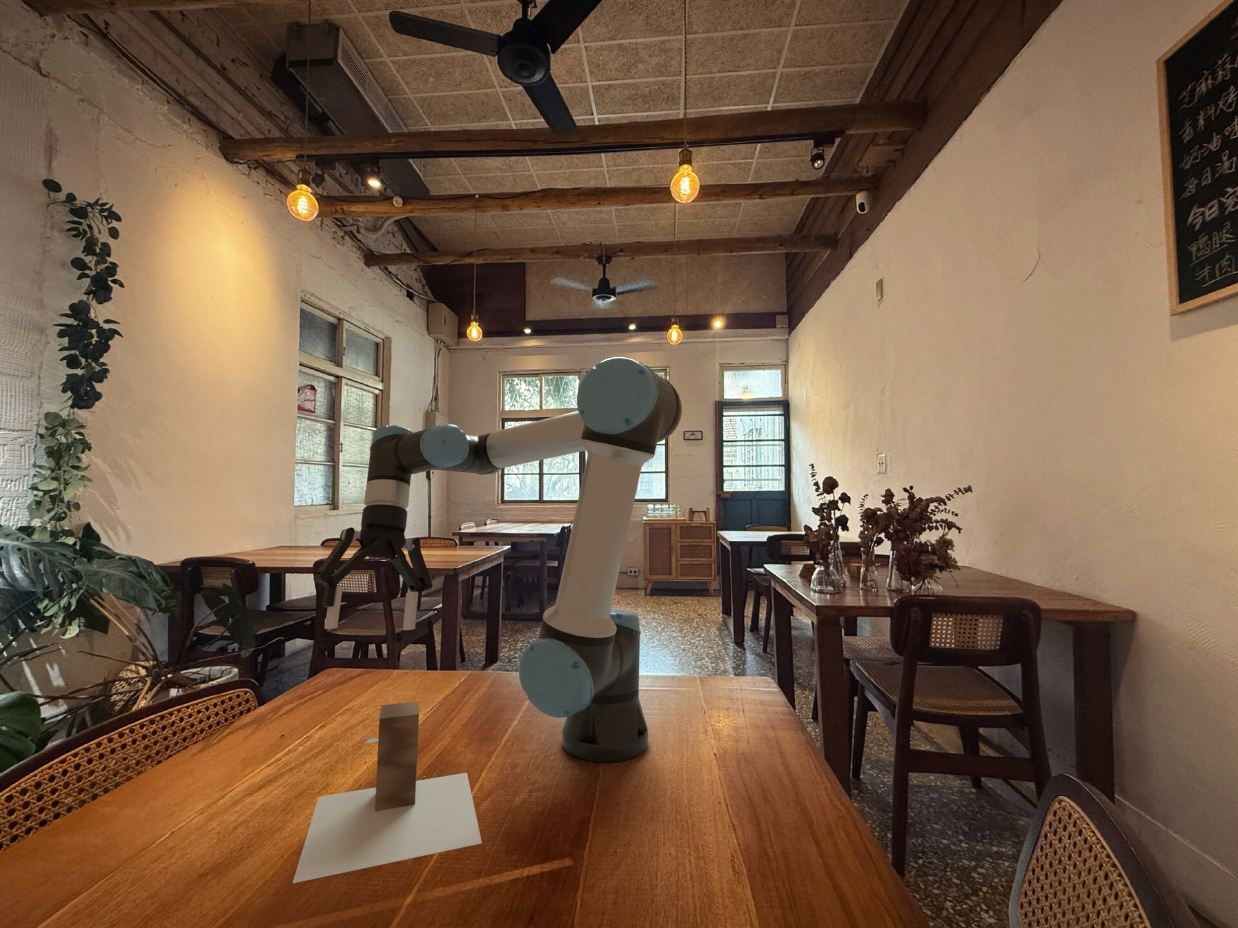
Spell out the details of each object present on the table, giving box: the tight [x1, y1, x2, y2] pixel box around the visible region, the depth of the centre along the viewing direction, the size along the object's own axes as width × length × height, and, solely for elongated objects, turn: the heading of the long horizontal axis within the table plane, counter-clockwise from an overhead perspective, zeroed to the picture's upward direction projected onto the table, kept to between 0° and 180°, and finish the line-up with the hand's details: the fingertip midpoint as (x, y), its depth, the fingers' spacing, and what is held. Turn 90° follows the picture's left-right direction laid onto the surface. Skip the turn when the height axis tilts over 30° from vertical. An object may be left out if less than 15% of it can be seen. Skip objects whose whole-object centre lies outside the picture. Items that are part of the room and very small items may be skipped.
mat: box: [292, 772, 483, 884], centre depth 70 cm, size 20×18×1 cm
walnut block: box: [375, 700, 420, 812], centre depth 75 cm, size 5×5×12 cm
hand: (371, 629), depth 90 cm, fingers open, 13 cm apart
